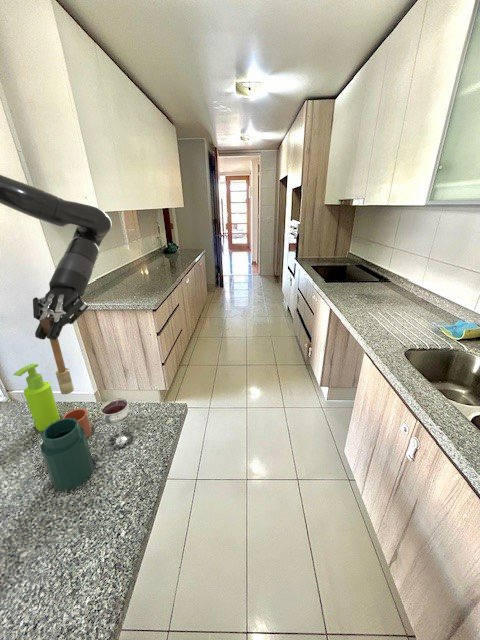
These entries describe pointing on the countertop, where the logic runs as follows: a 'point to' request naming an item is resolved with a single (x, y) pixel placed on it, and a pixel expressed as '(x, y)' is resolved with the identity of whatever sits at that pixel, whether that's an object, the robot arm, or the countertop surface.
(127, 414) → the wineglass
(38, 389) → the soap dispenser
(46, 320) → the brush
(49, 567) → the countertop surface
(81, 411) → the brush cup
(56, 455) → the bottle
